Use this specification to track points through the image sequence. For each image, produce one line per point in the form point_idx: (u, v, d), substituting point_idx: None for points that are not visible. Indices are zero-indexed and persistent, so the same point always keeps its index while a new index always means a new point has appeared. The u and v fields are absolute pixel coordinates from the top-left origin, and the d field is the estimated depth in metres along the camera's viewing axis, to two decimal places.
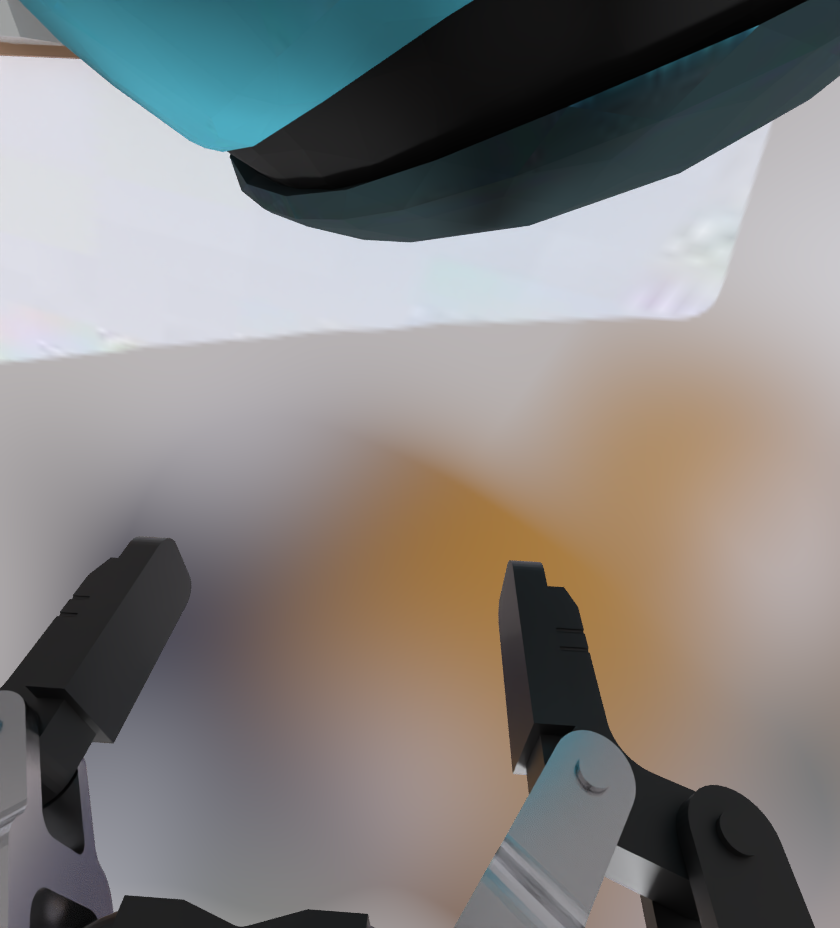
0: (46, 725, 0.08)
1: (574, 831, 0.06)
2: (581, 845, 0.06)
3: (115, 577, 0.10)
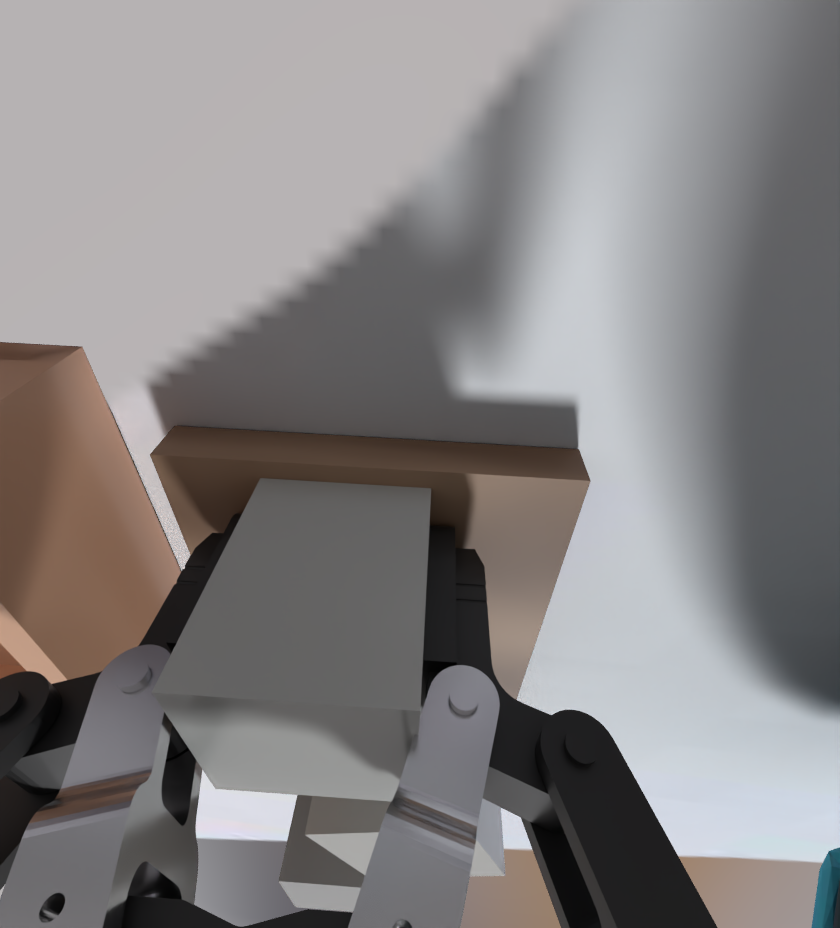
0: None
1: (436, 745, 0.07)
2: (439, 756, 0.07)
3: None
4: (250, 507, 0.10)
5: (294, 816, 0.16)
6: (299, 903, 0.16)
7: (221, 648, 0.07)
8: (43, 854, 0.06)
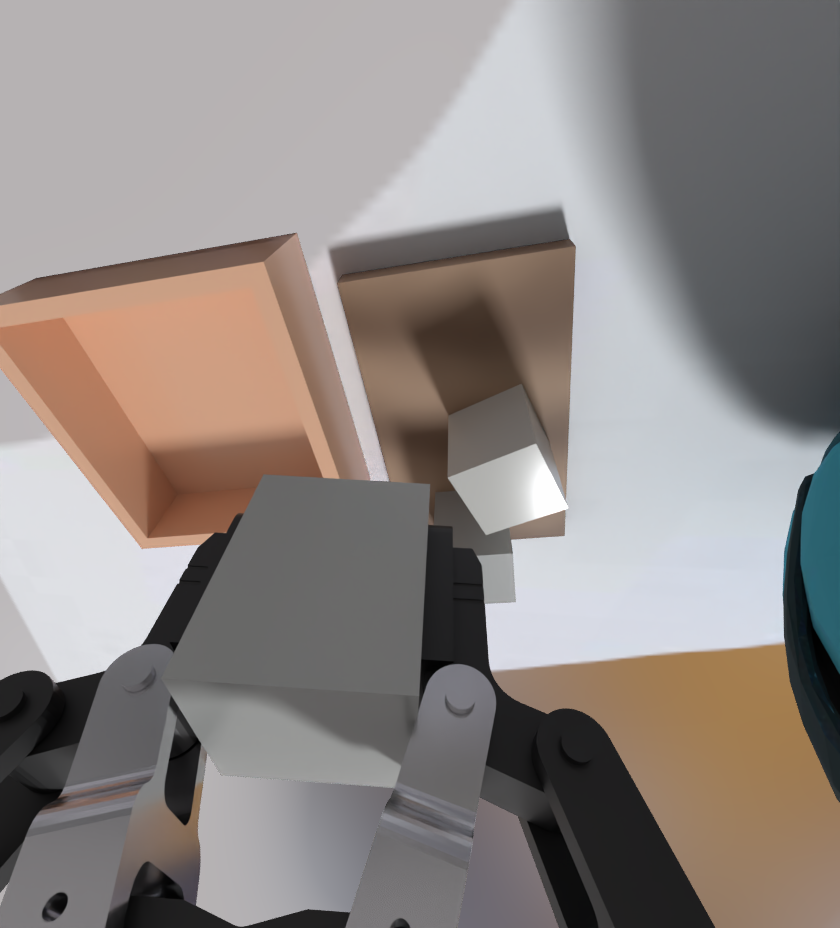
0: None
1: (432, 744, 0.07)
2: (435, 755, 0.07)
3: None
4: (254, 502, 0.10)
5: None
6: None
7: (227, 637, 0.08)
8: (46, 853, 0.06)
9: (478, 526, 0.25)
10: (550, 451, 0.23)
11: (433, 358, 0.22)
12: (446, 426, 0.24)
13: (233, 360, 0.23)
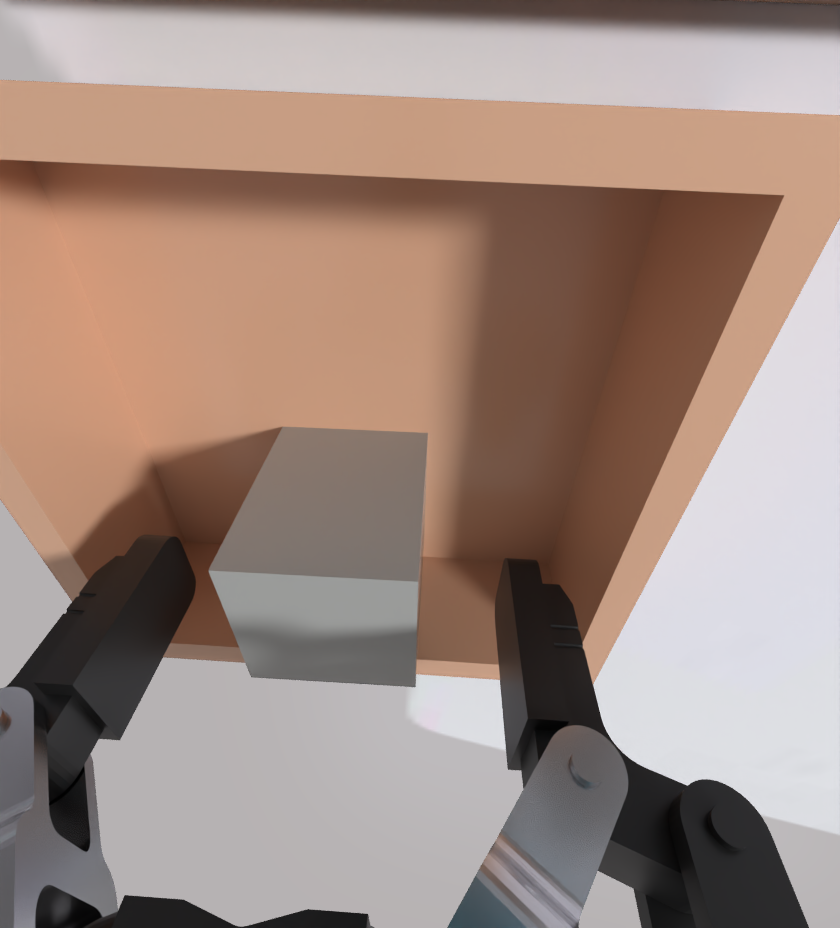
0: (54, 721, 0.08)
1: (567, 824, 0.06)
2: (573, 838, 0.06)
3: (121, 575, 0.10)
4: (276, 447, 0.12)
5: None
6: None
7: (259, 543, 0.09)
8: None
9: None
10: None
11: None
12: None
13: (271, 344, 0.11)
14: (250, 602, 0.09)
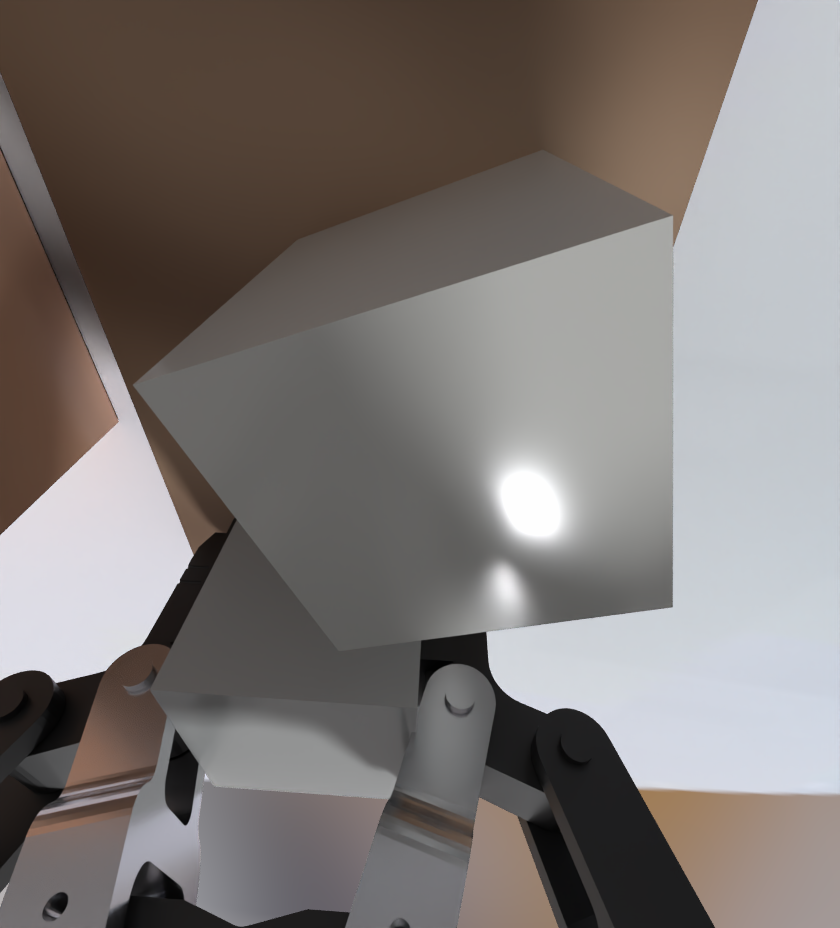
0: None
1: (432, 744, 0.07)
2: (435, 754, 0.07)
3: None
4: None
5: (200, 597, 0.08)
6: (217, 774, 0.09)
7: None
8: (47, 853, 0.06)
9: None
10: None
11: None
12: None
13: None
14: None
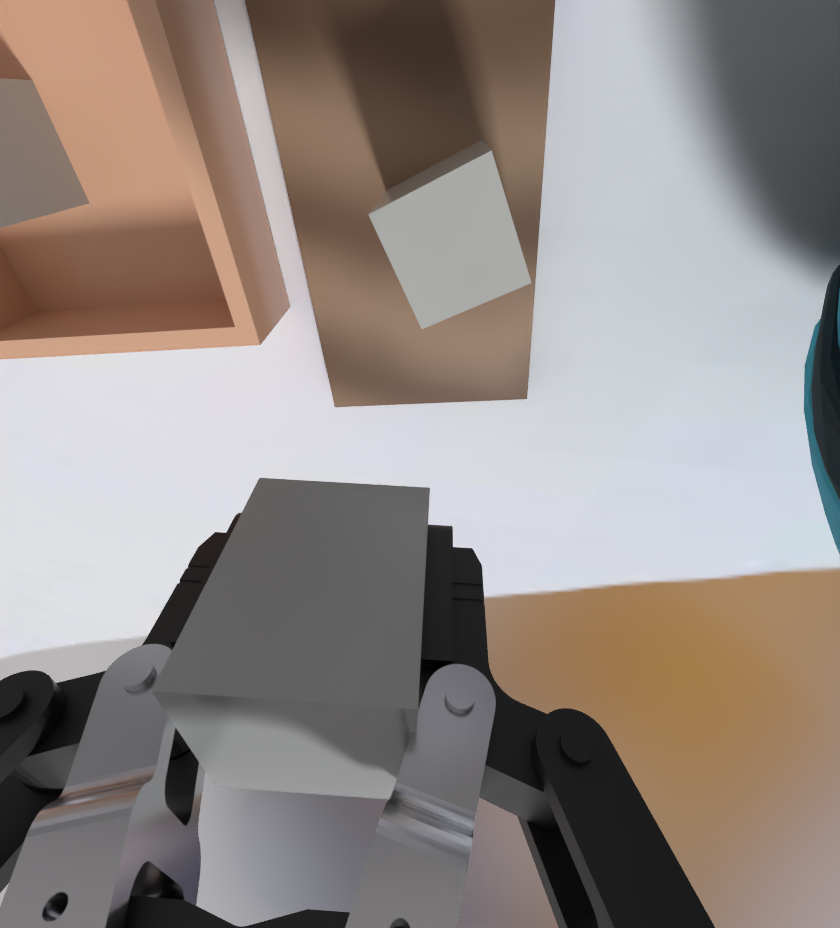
0: None
1: (432, 743, 0.07)
2: (435, 754, 0.07)
3: None
4: (14, 83, 0.16)
5: (201, 598, 0.08)
6: (218, 774, 0.09)
7: None
8: (47, 853, 0.06)
9: (336, 590, 0.08)
10: None
11: (365, 85, 0.16)
12: None
13: (94, 76, 0.17)
14: None
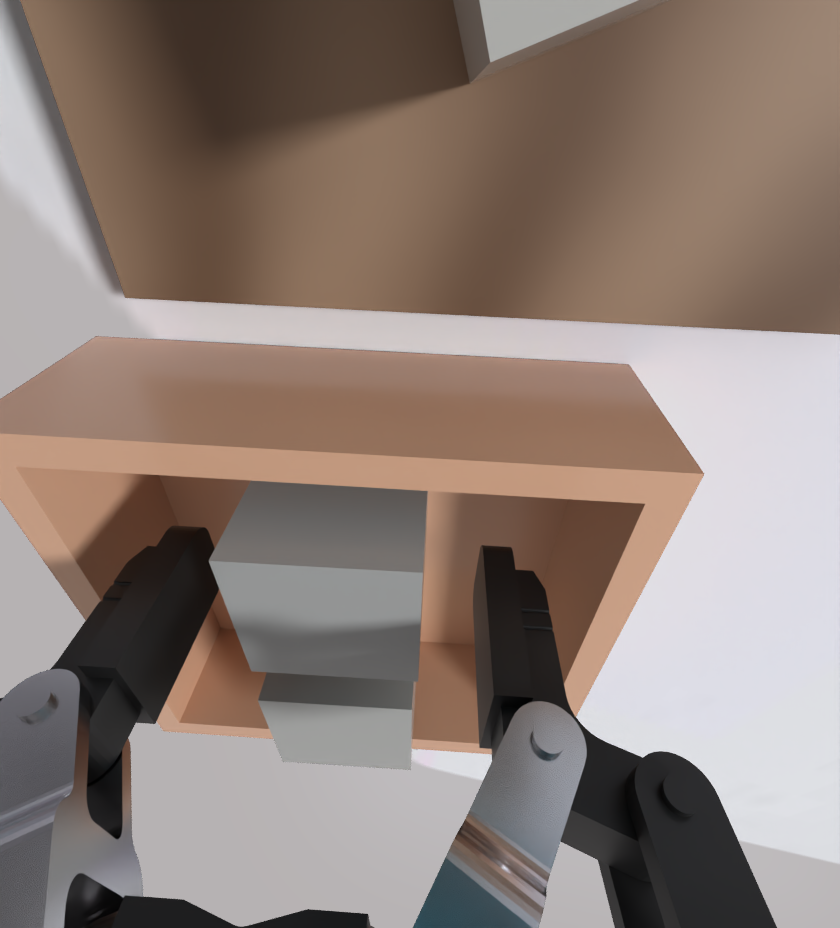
0: (98, 702, 0.08)
1: (525, 792, 0.07)
2: (530, 805, 0.07)
3: (155, 563, 0.10)
4: None
5: (242, 501, 0.10)
6: (255, 656, 0.11)
7: None
8: None
9: (354, 496, 0.10)
10: None
11: (281, 99, 0.08)
12: (507, 99, 0.08)
13: None
14: (287, 718, 0.13)
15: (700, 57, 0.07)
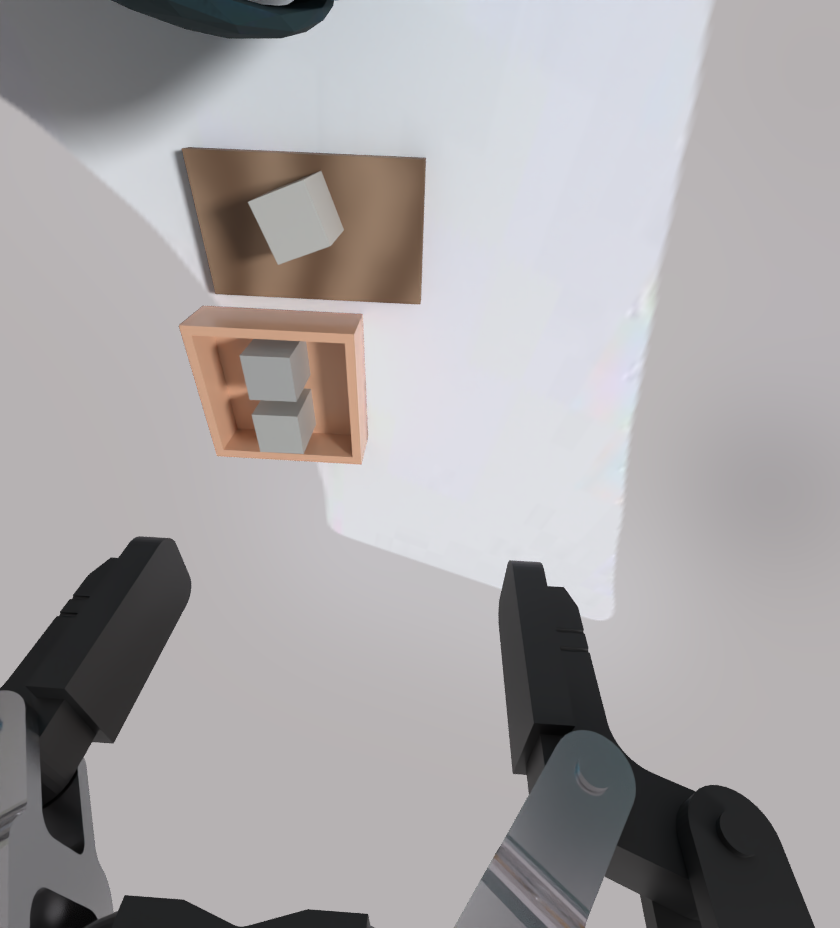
0: (46, 725, 0.08)
1: (574, 831, 0.06)
2: (581, 845, 0.06)
3: (115, 577, 0.10)
4: None
5: (247, 347, 0.38)
6: (250, 392, 0.39)
7: (262, 410, 0.41)
8: None
9: (276, 346, 0.38)
10: (307, 176, 0.32)
11: (256, 249, 0.36)
12: None
13: None
14: (260, 424, 0.41)
15: (343, 243, 0.36)
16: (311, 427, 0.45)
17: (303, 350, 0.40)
